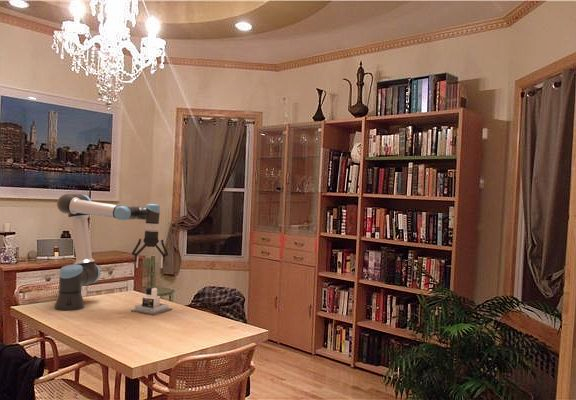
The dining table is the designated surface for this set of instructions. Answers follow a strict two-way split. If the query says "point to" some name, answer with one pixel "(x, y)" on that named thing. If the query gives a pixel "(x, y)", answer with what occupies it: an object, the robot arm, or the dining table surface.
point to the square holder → (151, 309)
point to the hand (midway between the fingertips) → (149, 267)
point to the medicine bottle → (151, 298)
